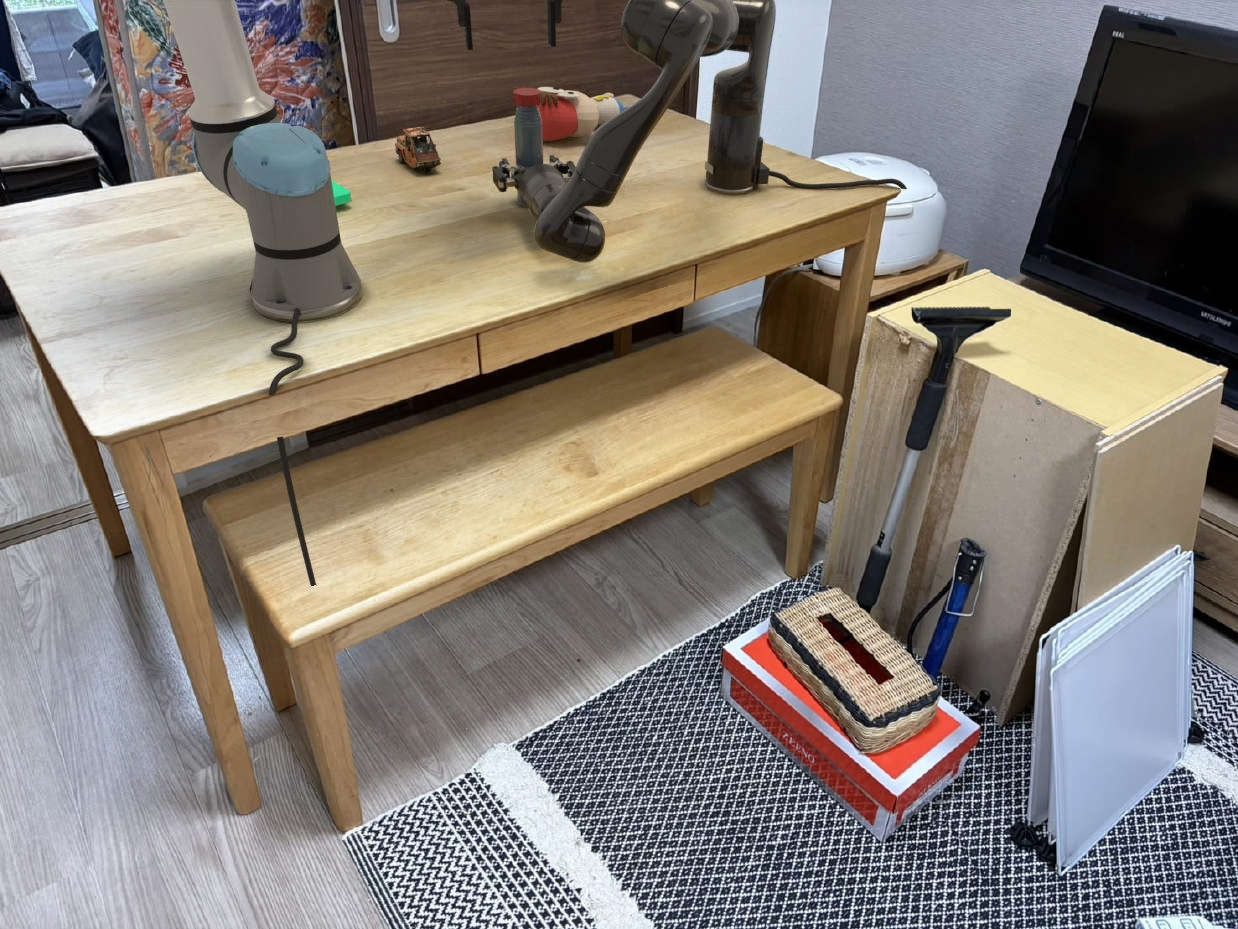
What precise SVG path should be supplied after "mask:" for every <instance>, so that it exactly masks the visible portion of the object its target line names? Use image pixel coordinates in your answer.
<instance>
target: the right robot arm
mask: <svg viewBox="0 0 1238 929" xmlns="http://www.w3.org/2000/svg"><path fill="white" fill-rule="evenodd" d="M776 17H777V5H776V1H775V0H628V2H627V4H626V6H625V8H624V10H623V13H622V17H621V23H620V34H621V38H622V40H623V42H624V43H625V46H627V47H628V48H629V49H630V50H631V51H632V52H633V53H635V54H636V55H638V56H639V57H641V58H643V59H644V60H646V61H647V62H649V63H650V64H652V65H654V66H655V67H657V68H658V69H660V70H661V73H660V75H659V76H658V78H657V80H656V81H655V83H654V84H653V85H652V87H651V88H650V89H649V91H648V92H647V93H646V94H644V95H643V96H642V97H641V98H640V99H639V100H637V101H636V102H635V103H633V104H632V105H630V106H628V107H629V108H627V109H624V111H622V112H621V113H619V114H618V115H616V116H614V117H613V118H611V119H610V120H608V121H607V122H605V123H604V124H603V125H599V127H598V128H597V129H596V130H594V132H593V134H592V135H591V136H590V138H589V140H588V141H587V143H586V144H585V147H584V149H583V152H582V153H581V155H580V157H579V160H578V162H577V164H575V162H574V161H571V160H568V161H566V163H564V162H563V160H560V158H559V157H556V156H555V155H554V154H550V155H549V156H548V157H549V158H548V159H549V162H548V163H543V164H537V165H534V166H532V167H523V166H520V165H516V164H515V165H510V163H509V160H508V159H507V158H506V157H503V158H501V160H499V162H498V166H497V165H494V166H492V167H491V170H492V182H493V184H494V185H495V187H496V188H497V190H498V191H499V192H500V193H506V192H507V190H508V188H515V189H516V190H517V189H518V190H520V193H521V195H522V197H523V199H524V201H525V204H526V206H527V207H526V208H527V209H528V210H529V212H530V213H531V215H532V216H533V217H534V218H535V221H536V222H535V225H534V239H535V242H536V244H537V246H538V247H539V248H540V249H542V250H543V251H545V252H548V253H551V254H554V255H556V256H560V257H563V258H565V259H568V260H571V261H573V262H577V263H581V264H587V263H591V262H593V261H595V260H596V259H597V258H598V257H599V256H600V255H601V254H602V252H603V250H604V247H605V244H606V231H605V228H604V224H603V223H602V221H601V220H600V218H599V217H598V216H597V215H595V214H594V213H593V212H592V211H590V209H588V208H586V207H592V208H607V207H609V206H610V205H612V203H613V202H614V200H615V198H616V196H617V195H618V193H619V191H620V190H621V187H622V185H623V183H624V182H625V179H626V176H627V175H628V173H629V171H630V169H631V167H632V165H633V163H634V161H635V160H636V157H637V156H638V154H639V152H640V150H641V149H642V148H643V146H644V144H645V143H646V142H647V140H648V138H649V136H650V135H651V134H652V132H653V131H654V129H655V128H656V126H657V125H658V123H659V122H660V120H661V119H662V118H663V116H664V115H665V113H666V112H667V110H668V109H669V107H670V105H671V104H672V103H673V101H674V99H675V98H676V97H677V95H678V94H679V91H680V90H681V89H682V87H683V85H684V84H685V83H686V81H687V80H688V78H689V76H690V75H691V73H692V72H693V71H694V68H695V67H696V65H697V64H698V62H699V60H700V59H701V58H707V57H713V56H717V55H719V54H721V53H723V52H724V51H731V52H739V53H745V54H746V53H747V54H748V58H747V60H746V62H744V63H742V64H740V65H738V66H734V67H730V68H726V69H723V70H720V71H719V72H717V73H716V74H715V76H714V78H713V86H712V98H711V111H710V122H709V135H708V147H707V158H706V159H707V160H705V161H704V162H705V163H704V169H705V170H706V171H705V179H704V186H705V187H706V188H707V189H708V190H709V191H711V192H715V193H719V194H724V195H743V194H748V193H750V192H752V191H757V190H758V189H759V186H760V185H768V184H769V177H773V178H777V179H780V180H782V181H783V182H784V183H786V184H787V185H788V186H790V187H793V188H797V189H804V190H825V189H845V188H855V187H860V186H861V187H862V186H878V185H887V184H888V185H889V184H891V185H896V186H897V187H898V188H900V190H907V189H908V188H907V186H906V184H905V183H904V182H902V181H901V180H899V179H896V178H881V179H865V180H864V179H863V180H855V181H854V180H853V181H847V182H828V183H826V182H825V183H802V182H797V181H794V180H791V179H790V178H789V177H788V176H786V175H785V174H783V173H781V172H777V171H774V170H770V167H769V166H767V165H766V164H765V163H763V162H762V156H763V148H764V138H763V137H762V136H761V129H762V128H761V127H762V118H763V110H764V109H763V108H764V101H765V92H766V85H767V79H768V78H767V77H768V71H769V63H770V55H771V50H772V44H773V37H774V32H775V27H776V26H775V25H776ZM519 172H520V173H519Z"/></svg>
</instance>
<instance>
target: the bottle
mask: <svg viewBox="0 0 1238 929" xmlns="http://www.w3.org/2000/svg"><path fill="white" fill-rule="evenodd" d="M513 129H514V153H515V165H520V166H523V167H532V166H534V165H537V164H544V140H543V127H542V118H541V115H540V111H539V108H538V106H534V107H522V106H517V107H516V110H515V114H514V121H513ZM519 173H520V172H519ZM516 199H517V200H516V201H517V205H519V206H521V207H524V208H528V207H527V206H526V204H525V201H524V199H523V197H522V195H521V193H520V190H518V189H516Z"/></svg>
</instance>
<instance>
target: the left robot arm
mask: <svg viewBox="0 0 1238 929" xmlns="http://www.w3.org/2000/svg"><path fill="white" fill-rule="evenodd" d="M446 1H447V2H451V3H454V4H455V7H456V8H455V9H456V20H457V24H458V26H459V27H460V28H464V34H465V35H464V36H465V46H466V48H467V50H468V51H474V46H473V33H472V30H473V29H472V19H471V6H470V3H469V2H467V0H446ZM563 1H564V0H546V3H547V4H546V5H547V6H546V8H547V10H546V11H547V43H548V44H549V46H550V47H551V48H552V47H555V48H556V47H557V34H556V30H557V29H556V26H557V25H556V24H561V23H562V19H563V18H562V16H563V15H562V3H563ZM162 2H163V4H164V7H165V10H166V13H167V17H168V19H169V22H170V25H171V28H172V32H173V35H174V38H175V41H176V43H177V47H178V50H179V53H180V56H181V59H182V63H183V66H184V68H185V71H186V75H187V78H188V80H189V81H188V82H189V84H190V87H191V90H192V94H193V96H194V101H193V102H192V104H191V105H190V108H189V109H188V111H187V115H188V118H189V121H190V124H191V128H192V130H193V133H192V138H191V149H192V155H193V158H194V161H195V163H196V166H198V169H199V170H200V172H201V174H202V175H203V176H204V178H205V179H206V180H207V182H209V183H210V184H211V185H212V186H213V187H214V188H215V189H217V190H218V191H219V192H221V193H223V194H225V196H227V197H228V198H230V199H231V200H232V201H234V202H235V203H236V204H238V206H240V207H241V208H243V209H244V210H245V213H246V215H247V219H248V220H247V221H248V224H249V228H250V233H251V237H252V242H253V247H254V251H255V258H254V264H253V273H252V279H251V282H250V285H249V294H250V295H251V299H252V303H253V307H254V309H255V310H256V311H257V313H259V314H260V315H262V316H264V317H266V318H268V319H271V320H275V321H281V322H289V323H291V327H290V329H291V330H290V334H289V336H287V337H286V338H284V339H282V340H279V341H277V342H274V343H273V344H272V345H271V346H270V352H271V354H272V355H274V356H276V357H280V358H285V359H292V360H295V361H296V363H294V364H292V365H289V366H288V367H286V368H284V369H282V370H281V371H279V372H278V373H277V374H276V375H275V376H274V377H273V379H271V380H272V381H271V383H270V386H269V390H268V395H269V396H274V395H276V393H277V389H278V386H279V384H280V382H281V380H282V379H283V378H284V377H286V376H288V375H290V374H292V373H294V372H296V371H299V369H301V368H303V366H304V364H305V360H304V358H303V356H302V355H300V354H298V353H295V352H290V351H283V350H280V348H282V347H285V346H288V345H290V344H291V343H293V342H294V341H295V340H296V338H297V335H298V325H299V323H304V322H314V321H315V322H316V321H320V320H326V319H330V318H332V317H336V316H338V315H341V314H343V313H345V312H348V311H349V310H351V309H353V308H354V307H355V306H356V305H357V304H358V303H359V302H360V301H361V298H362V297H363V287H362V282H361V278H360V276H359V274H358V272H357V270H356V268H355V266H354V264H353V263H352V261H351V259H350V257H349V255H348V253H347V251H346V250H345V248H344V245H343V243H342V239H341V233H340V225H339V219H338V213H337V206H335V200H334V193H333V187H332V181H333V180H332V174H331V169H332V168H331V162H330V160H329V156H328V154H327V151H326V147H325V144H324V142H323V140H322V139H321V138H320V136H319V135H317V133H315V132H313V130H310V129H309V128H307V127H303V126H301V125H291V124H290V123H285V122H281V119H280V115H279V112H278V108H277V105H276V102H275V98H273V96H271V95H269V94H268V93H267V92H265V91H264V90H262V89H261V88H260V85H259V81H258V77H257V75H256V71H255V68H254V63H253V60H252V56H251V53H250V49H249V46H248V42H247V38H246V35H245V31H244V28H243V24H242V21H241V18H240V13H239V10H238V6H237V3H236V0H162ZM276 440H277V446H278V452H279V457H280V463H281V468H282V473H283V477H284V481H285V486H286V492H287V495H288V499H289V503H290V508H291V512H292V517H293V522H294V525H295V529H296V533H297V537H298V541H299V545H300V550H301V553H302V557H303V561H304V566H305V570H306V573H307V577H308V582H309V585H311V586H314V585H316V586H317V582H316V579H315V573H314V568H313V565H312V562H311V557H310V554H309V549H308V545H307V542H306V536H305V533H304V528H303V525H302V520H301V517H300V512H299V507H298V503H297V498H296V494H295V489H294V484H293V481H292V480H293V479H292V475H291V470H290V464H289V459H288V455H287V450H286V444H285V439H284V436H276ZM311 586H310V587H311Z"/></svg>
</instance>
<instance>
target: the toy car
mask: <svg viewBox="0 0 1238 929" xmlns="http://www.w3.org/2000/svg"><path fill="white" fill-rule="evenodd" d="M402 131H403V133H404V135H399V136H397V138H396V142H395V143H394V146H395V148H394V149H395V153H396V155H398V156H397V157H398V160H399V163H404V164H407V166H409V167H410V168H412V169H413V170H415V171H419V170H422V169H424V170H425V173H427V174H430V173H431V172H432V169H434V168H436V167H439V166H441V165H442V162H441V160H442V158H441V157H439V153H438V151H437V144H436V143H434V141H433V139H432V137H431V133H430V132H429V131H428V130H427V129H426V128H425V127H424V126H417V127H410V128H403V129H402Z"/></svg>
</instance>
